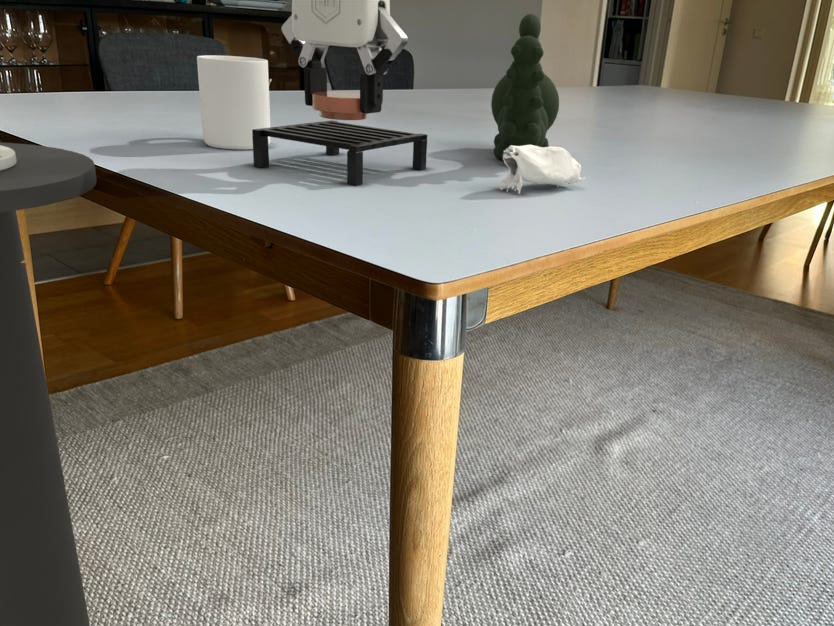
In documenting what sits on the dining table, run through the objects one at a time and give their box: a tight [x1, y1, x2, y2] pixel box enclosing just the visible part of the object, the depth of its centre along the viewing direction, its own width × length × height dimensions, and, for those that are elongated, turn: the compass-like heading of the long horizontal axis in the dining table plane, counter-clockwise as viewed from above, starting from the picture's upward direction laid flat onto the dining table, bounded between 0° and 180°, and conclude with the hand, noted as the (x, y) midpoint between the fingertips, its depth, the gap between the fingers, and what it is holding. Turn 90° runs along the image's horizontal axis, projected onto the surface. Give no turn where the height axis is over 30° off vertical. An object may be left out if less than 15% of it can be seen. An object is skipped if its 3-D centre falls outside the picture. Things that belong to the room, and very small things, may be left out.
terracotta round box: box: [311, 91, 368, 121], centre depth 86 cm, size 7×7×2 cm
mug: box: [196, 54, 272, 151], centre depth 97 cm, size 12×8×10 cm
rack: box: [252, 119, 428, 186], centre depth 88 cm, size 14×14×4 cm
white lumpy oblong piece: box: [499, 145, 586, 195], centre depth 84 cm, size 5×7×10 cm
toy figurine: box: [490, 13, 560, 161], centre depth 101 cm, size 9×19×25 cm
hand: (343, 107), depth 86 cm, fingers closed on terracotta round box, 6 cm apart
